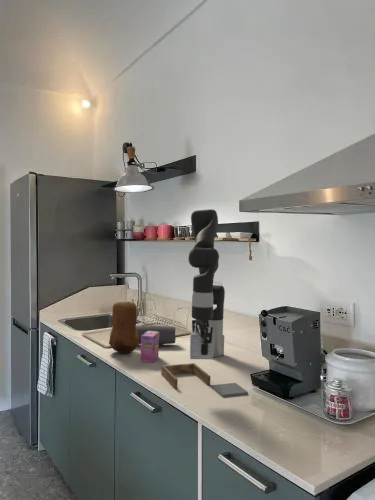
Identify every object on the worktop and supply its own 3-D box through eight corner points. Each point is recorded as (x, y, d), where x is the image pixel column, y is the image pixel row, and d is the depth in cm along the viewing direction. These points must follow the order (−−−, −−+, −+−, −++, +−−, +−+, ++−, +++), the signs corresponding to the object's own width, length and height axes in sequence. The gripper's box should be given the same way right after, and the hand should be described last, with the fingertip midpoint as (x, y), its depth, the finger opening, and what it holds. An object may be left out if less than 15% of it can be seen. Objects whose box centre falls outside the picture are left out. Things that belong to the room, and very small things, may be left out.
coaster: (235, 384, 156) (235, 382, 156) (248, 394, 147) (248, 392, 147) (211, 387, 153) (211, 385, 153) (222, 397, 143) (222, 394, 143)
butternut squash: (134, 348, 206) (136, 298, 205) (141, 355, 193) (143, 301, 193) (106, 349, 201) (108, 298, 200) (111, 357, 188) (113, 302, 188)
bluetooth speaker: (130, 347, 206) (130, 327, 206) (130, 343, 216) (131, 324, 216) (175, 347, 209) (175, 328, 208) (174, 343, 218) (174, 324, 218)
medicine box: (211, 356, 148) (212, 332, 148) (212, 359, 144) (213, 335, 143) (189, 356, 148) (190, 331, 148) (190, 359, 143) (190, 334, 143)
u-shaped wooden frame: (193, 371, 171) (194, 363, 171) (210, 385, 155) (210, 376, 155) (161, 374, 166) (161, 365, 166) (174, 388, 150) (174, 379, 150)
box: (152, 363, 181) (153, 336, 181) (140, 361, 182) (140, 335, 182) (158, 356, 191) (159, 331, 191) (147, 355, 193) (147, 330, 192)
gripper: (220, 307, 140) (219, 357, 140) (204, 301, 153) (203, 346, 154) (200, 308, 137) (198, 359, 138) (185, 301, 151) (184, 347, 151)
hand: (201, 352), depth 146 cm, fingers closed on medicine box, 5 cm apart
